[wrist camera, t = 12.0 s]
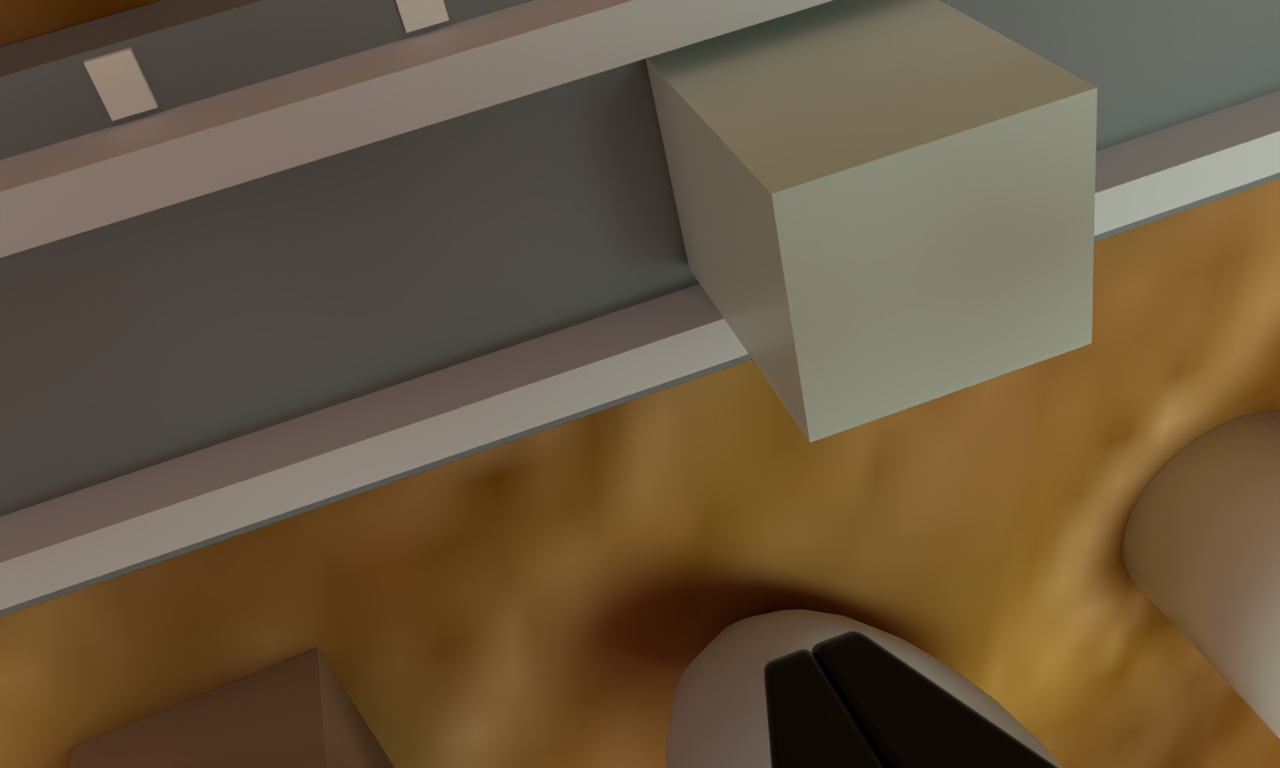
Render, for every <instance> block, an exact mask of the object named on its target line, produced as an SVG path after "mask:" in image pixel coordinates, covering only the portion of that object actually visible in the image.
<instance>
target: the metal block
mask: <svg viewBox="0 0 1280 768" xmlns="http://www.w3.org/2000/svg"><path fill="white" fill-rule="evenodd" d="M69 768H395V767H394V766H393V764H392V763H391V761H390V759H389V758H388V756H387V755H386V753H385V752H384V750H383V749H382V747H381V746H380V744H379V742H378V741H377V739H376V738H375V736H374V735H373V733H372V732H371V730H370V729H369V727H368V726H367V724H366V722H365V721H364V719H363V718H362V716H361V715H360V713H359V712H358V710H357V709H356V707H355V705H354V704H353V702H352V701H351V699H350V698H349V696H348V695H347V693H346V692H345V690H344V689H343V687H342V685H341V684H340V682H339V681H338V679H337V678H336V676H335V675H334V673H333V672H332V670H331V668H330V667H329V665H328V664H327V662H326V661H325V659H324V658H323V656H322V655H321V653H320V652H319V650H318V648H315V649H313V650H310V651H308V652H305V653H303V654H300V655H298V656H296V657H293V658H291V659H288V660H286V661H283V662H281V663H278V664H276V665H273V666H271V667H269V668H266V669H264V670H261V671H259V672H256V673H254V674H251V675H249V676H246V677H244V678H241V679H239V680H237V681H234V682H232V683H229V684H227V685H224V686H222V687H219V688H217V689H214V690H212V691H209V692H207V693H205V694H202V695H200V696H197V697H195V698H192V699H190V700H187V701H185V702H182V703H180V704H177V705H175V706H173V707H170V708H168V709H165V710H163V711H160V712H158V713H155V714H153V715H150V716H148V717H146V718H143V719H141V720H138V721H136V722H133V723H131V724H128V725H126V726H123V727H121V728H118V729H116V730H114V731H111V732H109V733H106V734H104V735H101V736H99V737H96V738H94V739H91V740H89V741H86V742H84V743H82V744H79V745H77V746H74V747H72V749H71V756H70V763H69Z"/></svg>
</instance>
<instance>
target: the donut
mask: <svg viewBox="0 0 1280 768" xmlns="http://www.w3.org/2000/svg"><path fill="white" fill-rule="evenodd" d="M850 631H856V632H860V633H862V634H864V635H866V636H867V637H869V638H870V639H872V640H873V641H875V642H876V643H877V644H879V645H880V646H882V647H883V648H885V649H886V650H888V651H889V652H891V653H892V654H893V655H895V656H896V657H898V658H899V659H901V660H902V661H904V662H905V663H907V664H908V665H909V666H911V667H912V668H914V669H915V670H917V671H918V672H920V673H921V674H923V675H924V676H925V677H927V678H928V679H930V680H931V681H933V682H934V683H936V684H937V685H939V686H940V687H941V688H943V689H944V690H946V691H947V692H949V693H950V694H952V695H953V696H955V697H956V698H957V699H959V700H960V701H962V702H963V703H965V704H966V705H968V706H969V707H971V708H972V709H973V710H975V711H976V712H978V713H979V714H981V715H982V716H984V717H985V718H987V719H988V720H989V721H991V722H992V723H994V724H995V725H997V726H998V727H1000V728H1001V729H1003V730H1004V731H1005V732H1007V733H1008V734H1010V735H1011V736H1013V737H1014V738H1016V739H1017V740H1019V741H1020V742H1021V743H1023V744H1024V745H1026V746H1027V747H1029V748H1030V749H1032V750H1033V751H1035V752H1036V753H1037V754H1039V755H1040V756H1042V757H1043V758H1045V759H1046V760H1048V761H1049V762H1051V763H1052V764H1053V765H1055V766H1056V767H1058V768H1062V767H1061V765H1060V764H1059V763H1058V762H1057V761H1056V760H1055V758H1054V757H1053V756H1052V755H1051V754H1050V752H1049V751H1048V750H1047V749H1046V748H1045V747H1044V745H1043V744H1042V743H1041V742H1040V741H1039V740H1038V739H1037V738H1036V737H1035V736H1034V735H1033V734H1031V733H1030V732H1029V731H1028V730H1027V729H1026V728H1025V727H1024V726H1023V725H1022V724H1021V723H1020V722H1019V721H1017V720H1016V719H1015V718H1014V717H1013V716H1012V715H1011V714H1010V713H1009V712H1008V711H1007V710H1006V709H1005V708H1004V707H1002V706H1001V705H1000V704H999V703H998V702H997V701H996V700H995V699H993V698H992V697H991V696H989V695H988V694H987V693H985V692H984V691H983V690H981V689H980V688H979V687H977V686H976V685H974V684H973V683H972V682H970V681H969V680H968V679H966V678H965V677H964V676H962V675H961V674H960V673H958V672H957V671H956V670H954V669H953V668H952V667H950V666H949V665H947V664H945V663H944V662H942V661H940V660H938V659H937V658H935V657H933V656H931V655H930V654H928V653H926V652H924V651H923V650H921V649H919V648H918V647H916V646H914V645H912V644H911V643H909V642H907V641H905V640H904V639H901V638H899V637H897V636H894V635H892V634H889V633H887V632H884V631H882V630H879V629H877V628H874V627H871V626H869V625H866V624H864V623H861V622H859V621H856V620H854V619H851V618H848V617H846V616H842V615H835V614H829V613H823V612H816V611H810V610H803V609H796V610H781V611H776V612H771V613H767V614H762V615H757V616H753V617H748V618H745V619H743V620H740V621H738V622H736V623H734V624H731V625H729V626H727V627H725V628H724V629H723V630H722V631H721V632H720V633H719V634H718V635H717V636H716V637H715V638H714V639H713V640H712V641H711V642H710V643H709V645H708V646H707V647H706V648H705V649H704V650H703V651H702V652H701V653H700V654H699V655H698V656H697V657H696V658H695V659H694V660H693V661H692V662H691V663H690V664H689V665H688V666H687V667H686V668H685V670H684V672H683V674H682V676H681V678H680V681H679V683H678V685H677V687H676V689H675V693H674V699H673V705H672V711H671V717H670V723H669V729H668V735H667V748H666V761H667V766H668V768H772V767H771V754H770V742H769V730H768V718H767V706H766V694H765V681H764V667H765V665H766V664H767V662H769V661H771V660H774V659H776V658H779V657H782V656H784V655H787V654H790V653H792V652H795V651H798V650H801V649H806V650H809V651H810V652H811V653H812V648H813V647H814V645H816V644H817V643H819V642H822V641H825V640H827V639H830V638H833V637H835V636H838V635H841V634H843V633H846V632H850Z"/></svg>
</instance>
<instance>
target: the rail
mask: <svg viewBox="0 0 1280 768" xmlns="http://www.w3.org/2000/svg"><path fill="white" fill-rule="evenodd" d="M830 1H833V0H161V1H158V2H155V3H151V4H148V5H144V6H141V7H137V8H134V9H130V10H127V11H123V12H120V13H117V14H113V15H110V16H106V17H103V18H99V19H96V20H92V21H89V22H85V23H82V24H78V25H75V26H72V27H68V28H65V29H61V30H58V31H54V32H51V33H47V34H44V35H40V36H37V37H34V38H30V39H27V40H23V41H20V42H16V43H13V44H9V45H6V46H2V47H0V617H1V616H4V615H7V614H10V613H13V612H16V611H19V610H22V609H24V608H27V607H30V606H33V605H36V604H39V603H42V602H45V601H48V600H51V599H54V598H57V597H59V596H62V595H65V594H68V593H71V592H74V591H77V590H80V589H83V588H86V587H89V586H92V585H94V584H97V583H100V582H103V581H106V580H109V579H112V578H115V577H118V576H121V575H124V574H127V573H129V572H132V571H135V570H138V569H141V568H144V567H147V566H150V565H153V564H156V563H159V562H162V561H165V560H167V559H170V558H173V557H176V556H179V555H182V554H185V553H188V552H191V551H194V550H197V549H200V548H202V547H205V546H208V545H211V544H214V543H217V542H220V541H223V540H226V539H229V538H232V537H235V536H237V535H240V534H243V533H246V532H249V531H252V530H255V529H258V528H261V527H264V526H267V525H270V524H272V523H275V522H278V521H281V520H284V519H287V518H290V517H293V516H296V515H299V514H302V513H305V512H307V511H310V510H313V509H316V508H319V507H322V506H325V505H328V504H331V503H334V502H337V501H340V500H343V499H345V498H348V497H351V496H354V495H357V494H360V493H363V492H366V491H369V490H372V489H375V488H378V487H380V486H383V485H386V484H389V483H392V482H395V481H398V480H401V479H404V478H407V477H410V476H413V475H415V474H418V473H421V472H424V471H427V470H430V469H433V468H436V467H439V466H442V465H445V464H448V463H450V462H453V461H456V460H459V459H462V458H465V457H468V456H471V455H474V454H477V453H480V452H483V451H485V450H488V449H491V448H494V447H497V446H500V445H503V444H506V443H509V442H512V441H515V440H518V439H521V438H523V437H526V436H529V435H532V434H535V433H538V432H541V431H544V430H547V429H550V428H553V427H556V426H558V425H561V424H564V423H567V422H570V421H573V420H576V419H579V418H582V417H585V416H588V415H591V414H593V413H596V412H599V411H602V410H605V409H608V408H611V407H614V406H617V405H620V404H623V403H626V402H628V401H631V400H634V399H637V398H640V397H643V396H646V395H649V394H652V393H655V392H658V391H661V390H664V389H666V388H669V387H672V386H675V385H678V384H681V383H684V382H687V381H690V380H693V379H696V378H699V377H701V376H704V375H707V374H710V373H713V372H716V371H719V370H722V369H725V368H728V367H731V366H734V365H736V364H739V363H742V362H745V361H748V360H751V359H752V358H751V357H750V355H749V354H748V353H747V351H746V350H745V348H744V347H743V345H742V344H741V342H740V341H739V339H738V338H737V337H736V335H735V334H734V332H733V331H732V329H731V328H730V326H729V325H728V324H727V322H726V321H725V319H724V318H723V316H722V315H721V313H720V312H719V311H718V309H717V308H716V306H715V305H714V303H713V302H712V300H711V299H710V298H709V296H708V295H707V293H706V292H705V290H704V289H703V287H702V286H701V285H700V283H699V282H698V280H697V279H696V277H695V276H694V274H693V273H692V272H691V270H690V269H689V265H688V260H687V255H686V250H685V245H684V241H683V236H682V231H681V226H680V221H679V217H678V212H677V207H676V202H675V197H674V193H673V188H672V183H671V178H670V174H669V169H668V164H667V159H666V154H665V150H664V145H663V140H662V135H661V130H660V126H659V121H658V116H657V111H656V106H655V102H654V97H653V92H652V87H651V82H650V78H649V73H648V68H647V63H646V58H648V57H652V56H655V55H658V54H661V53H665V52H668V51H671V50H674V49H678V48H681V47H684V46H687V45H690V44H694V43H697V42H700V41H703V40H707V39H710V38H713V37H716V36H720V35H723V34H726V33H729V32H733V31H736V30H739V29H742V28H745V27H749V26H752V25H755V24H758V23H762V22H765V21H768V20H771V19H775V18H778V17H781V16H784V15H788V14H791V13H794V12H797V11H800V10H804V9H807V8H810V7H813V6H817V5H820V4H823V3H826V2H830ZM940 1H942V2H944V3H946V4H948V5H949V6H951V7H953V8H955V9H957V10H958V11H960V12H962V13H964V14H966V15H967V16H969V17H971V18H973V19H975V20H976V21H978V22H980V23H982V24H984V25H985V26H987V27H989V28H991V29H993V30H994V31H996V32H998V33H1000V34H1002V35H1004V36H1005V37H1007V38H1009V39H1011V40H1013V41H1014V42H1016V43H1018V44H1020V45H1022V46H1023V47H1025V48H1027V49H1029V50H1031V51H1032V52H1034V53H1036V54H1038V55H1040V56H1041V57H1043V58H1045V59H1047V60H1049V61H1050V62H1052V63H1054V64H1056V65H1058V66H1059V67H1061V68H1063V69H1065V70H1067V71H1068V72H1070V73H1072V74H1074V75H1076V76H1077V77H1079V78H1081V79H1083V80H1085V81H1086V82H1088V83H1090V84H1092V85H1094V86H1096V87H1097V128H1096V172H1095V215H1094V242H1095V241H1098V240H1101V239H1104V238H1107V237H1110V236H1113V235H1116V234H1119V233H1122V232H1125V231H1127V230H1130V229H1133V228H1136V227H1139V226H1142V225H1145V224H1148V223H1151V222H1154V221H1157V220H1160V219H1162V218H1165V217H1168V216H1171V215H1174V214H1177V213H1180V212H1183V211H1186V210H1189V209H1192V208H1195V207H1198V206H1200V205H1203V204H1206V203H1209V202H1212V201H1215V200H1218V199H1221V198H1224V197H1227V196H1230V195H1233V194H1235V193H1238V192H1241V191H1244V190H1247V189H1250V188H1253V187H1256V186H1259V185H1262V184H1265V183H1268V182H1270V181H1273V180H1276V179H1279V178H1280V0H940Z"/></svg>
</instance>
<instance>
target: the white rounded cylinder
mask: <svg viewBox="0 0 1280 768" xmlns="http://www.w3.org/2000/svg"><path fill="white" fill-rule="evenodd" d="M1122 557H1123V561H1124V566H1125V568H1126V570H1127V572H1128V575H1129V576H1130V577H1131V578H1132V580H1133V581H1134V582H1135V583H1136V584H1137V585H1138V587H1139V588H1140V589H1141V590H1142V591H1143V592H1144V593H1145V594H1146V595H1147V596H1148V597H1149V598H1150V599H1151V601H1152V602H1153V603H1154V604H1155V605H1156V606H1157V607H1158V608H1159V609H1160V610H1161V611H1162V612H1163V614H1164V615H1165V616H1166V617H1167V618H1168V619H1169V620H1170V621H1171V622H1172V623H1173V624H1174V625H1175V627H1176V628H1177V629H1178V630H1179V631H1180V632H1181V633H1182V634H1183V635H1184V636H1185V637H1186V638H1187V639H1188V641H1189V642H1190V643H1191V644H1192V645H1193V646H1194V647H1195V648H1196V649H1197V650H1198V651H1199V652H1200V654H1201V655H1202V656H1203V657H1204V658H1205V659H1206V660H1207V661H1208V662H1209V663H1210V664H1211V665H1212V667H1213V668H1214V669H1215V670H1216V671H1217V672H1218V673H1219V674H1220V675H1221V676H1222V677H1223V678H1224V679H1225V681H1226V682H1227V683H1228V684H1229V685H1230V686H1231V687H1232V688H1233V689H1234V690H1235V691H1236V692H1237V694H1238V695H1239V696H1240V697H1241V698H1242V699H1243V700H1244V701H1245V702H1246V703H1247V704H1248V705H1249V707H1250V708H1251V709H1252V710H1253V711H1254V712H1255V713H1256V714H1257V715H1258V716H1259V717H1260V718H1261V719H1262V721H1263V722H1264V723H1265V724H1266V725H1267V726H1268V727H1269V728H1270V729H1271V730H1272V731H1273V732H1274V734H1275V735H1276V736H1277V737H1278V738H1279V739H1280V411H1263V412H1258V413H1253V414H1248V415H1245V416H1242V417H1239V418H1235V419H1233V420H1231V421H1228V422H1226V423H1224V424H1221V425H1219V426H1217V427H1216V428H1214V429H1212V430H1210V431H1208V432H1206V433H1205V434H1203V435H1202V436H1200V437H1199V438H1197V439H1195V440H1194V441H1192V442H1191V443H1190V444H1189V445H1187V446H1186V447H1185V448H1183V449H1182V450H1181V451H1179V452H1178V453H1177V454H1176V455H1175V456H1174V457H1173V458H1172V459H1171V460H1169V461H1168V462H1167V463H1166V464H1165V465H1164V466H1163V468H1162V469H1161V470H1160V471H1159V472H1158V473H1157V474H1156V475H1155V476H1154V478H1153V479H1152V480H1151V481H1150V483H1149V484H1148V485H1147V486H1146V488H1145V489H1144V491H1143V492H1142V494H1141V495H1140V497H1139V498H1138V500H1137V502H1136V504H1135V506H1134V508H1133V510H1132V512H1131V514H1130V516H1129V519H1128V521H1127V524H1126V528H1125V532H1124V535H1123V543H1122Z"/></svg>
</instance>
